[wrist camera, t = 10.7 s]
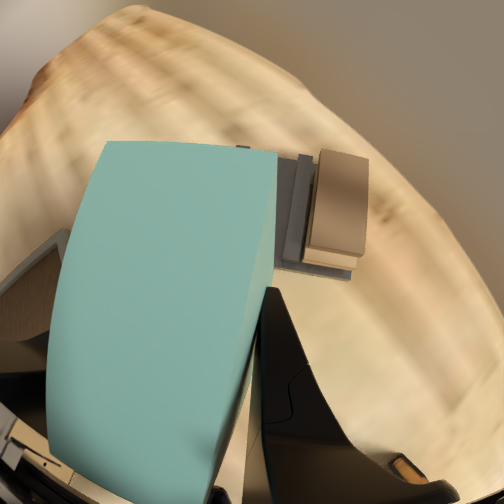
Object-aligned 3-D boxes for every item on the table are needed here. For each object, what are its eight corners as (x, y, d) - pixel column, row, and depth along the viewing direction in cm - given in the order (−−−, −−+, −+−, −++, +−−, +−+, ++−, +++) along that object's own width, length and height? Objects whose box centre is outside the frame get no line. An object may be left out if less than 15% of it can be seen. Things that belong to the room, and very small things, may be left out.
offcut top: (359, 257, 19) (364, 254, 18) (307, 248, 20) (310, 244, 18) (364, 166, 21) (368, 159, 20) (318, 156, 21) (321, 148, 20)
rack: (346, 281, 22) (357, 277, 19) (217, 258, 23) (210, 250, 20) (355, 178, 24) (365, 162, 21) (240, 158, 25) (237, 140, 22)
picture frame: (127, 402, 20) (2, 435, 18) (134, 398, 21) (8, 433, 20) (63, 226, 24) (-35, 321, 22) (71, 230, 26) (-29, 322, 24)
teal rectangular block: (251, 378, 14) (196, 525, 2) (199, 365, 14) (49, 453, 3) (273, 275, 15) (277, 152, 4) (221, 265, 16) (107, 141, 4)
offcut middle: (351, 270, 20) (355, 268, 19) (301, 262, 21) (303, 259, 19) (358, 180, 22) (362, 174, 21) (314, 171, 22) (316, 164, 21)
